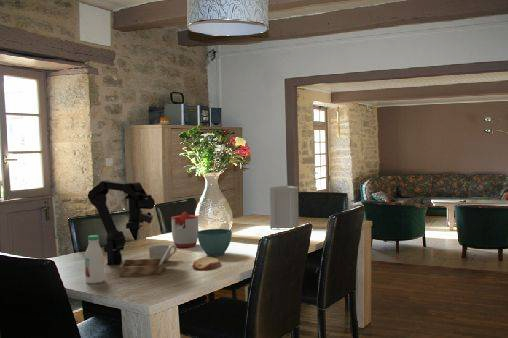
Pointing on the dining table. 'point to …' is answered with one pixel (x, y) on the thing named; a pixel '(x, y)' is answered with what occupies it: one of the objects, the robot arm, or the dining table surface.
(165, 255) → the grey flat panel
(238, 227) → the dining table surface
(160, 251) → the teacup
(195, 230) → the citrus juicer
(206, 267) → the slice of bread
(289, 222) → the tall grey box
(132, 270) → the wooden tray
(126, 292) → the dining table surface
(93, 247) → the milk bottle
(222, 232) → the teal bowl
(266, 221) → the dining table surface
